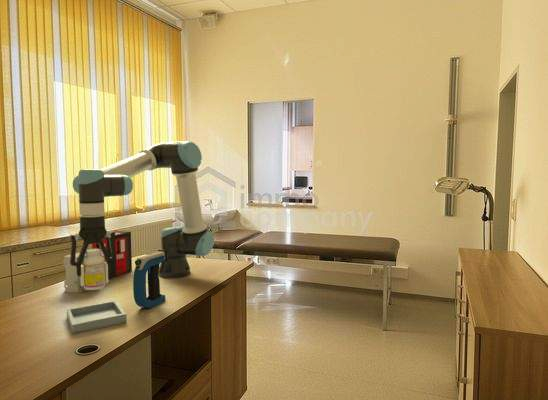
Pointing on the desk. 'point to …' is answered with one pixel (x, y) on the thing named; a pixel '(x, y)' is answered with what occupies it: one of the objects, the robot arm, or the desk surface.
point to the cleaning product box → (118, 253)
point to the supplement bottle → (94, 270)
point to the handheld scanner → (139, 279)
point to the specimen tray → (95, 316)
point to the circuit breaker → (72, 276)
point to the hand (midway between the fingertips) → (94, 283)
